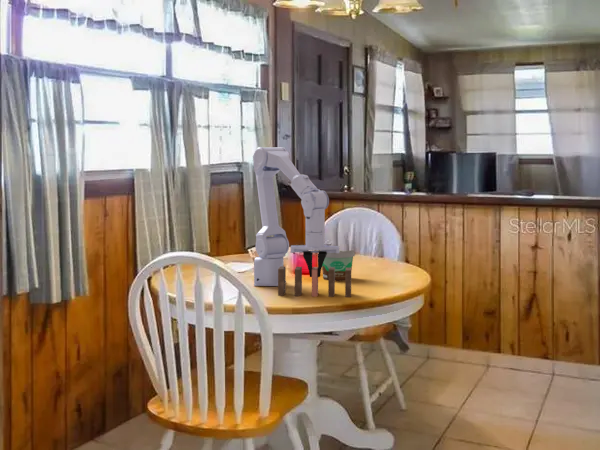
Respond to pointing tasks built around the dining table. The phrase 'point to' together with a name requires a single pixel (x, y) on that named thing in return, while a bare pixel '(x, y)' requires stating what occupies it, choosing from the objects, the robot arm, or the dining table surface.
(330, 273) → the domino
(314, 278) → the domino
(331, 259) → the food container
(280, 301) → the dining table surface
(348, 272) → the domino
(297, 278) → the domino
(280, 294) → the domino
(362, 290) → the dining table surface
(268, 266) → the robot arm
